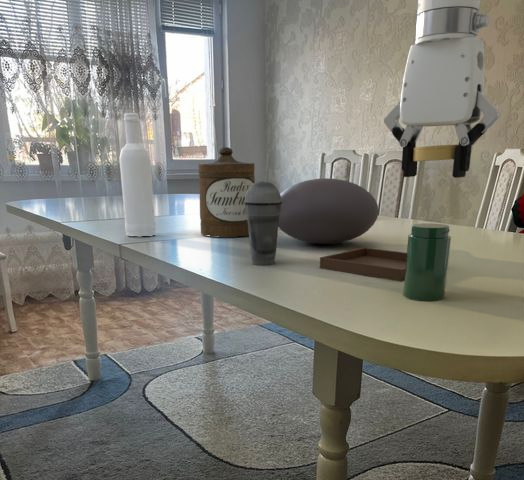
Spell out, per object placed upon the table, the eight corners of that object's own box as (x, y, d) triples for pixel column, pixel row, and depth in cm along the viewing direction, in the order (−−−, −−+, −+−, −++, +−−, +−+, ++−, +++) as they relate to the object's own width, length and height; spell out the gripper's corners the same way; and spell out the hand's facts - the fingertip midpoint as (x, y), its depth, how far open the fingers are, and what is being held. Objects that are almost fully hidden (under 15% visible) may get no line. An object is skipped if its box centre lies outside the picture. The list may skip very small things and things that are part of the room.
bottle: (122, 237, 141) (110, 112, 131) (130, 233, 149) (119, 114, 139) (152, 237, 141) (143, 112, 131) (159, 233, 149) (150, 114, 138)
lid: (425, 161, 80) (426, 148, 79) (469, 158, 76) (470, 144, 75) (404, 161, 75) (405, 147, 75) (449, 159, 71) (450, 144, 71)
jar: (450, 295, 83) (458, 224, 79) (434, 303, 78) (442, 229, 75) (413, 289, 86) (419, 222, 83) (396, 296, 82) (402, 226, 78)
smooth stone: (377, 253, 117) (382, 181, 112) (263, 250, 121) (263, 180, 116) (375, 236, 140) (379, 176, 135) (280, 234, 144) (280, 176, 139)
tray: (441, 267, 102) (442, 257, 101) (401, 281, 92) (402, 269, 91) (363, 257, 113) (364, 247, 112) (319, 267, 103) (319, 257, 102)
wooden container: (211, 239, 137) (207, 146, 130) (194, 232, 150) (189, 147, 143) (264, 235, 143) (264, 146, 135) (243, 229, 156) (242, 147, 148)
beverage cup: (252, 258, 112) (251, 156, 105) (286, 260, 110) (287, 155, 103) (239, 265, 105) (237, 156, 99) (275, 267, 103) (275, 156, 96)
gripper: (525, 25, 67) (506, 176, 74) (396, 43, 78) (389, 175, 84) (508, 14, 62) (488, 179, 68) (371, 36, 72) (365, 177, 78)
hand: (433, 175), depth 76 cm, fingers closed on lid, 6 cm apart
